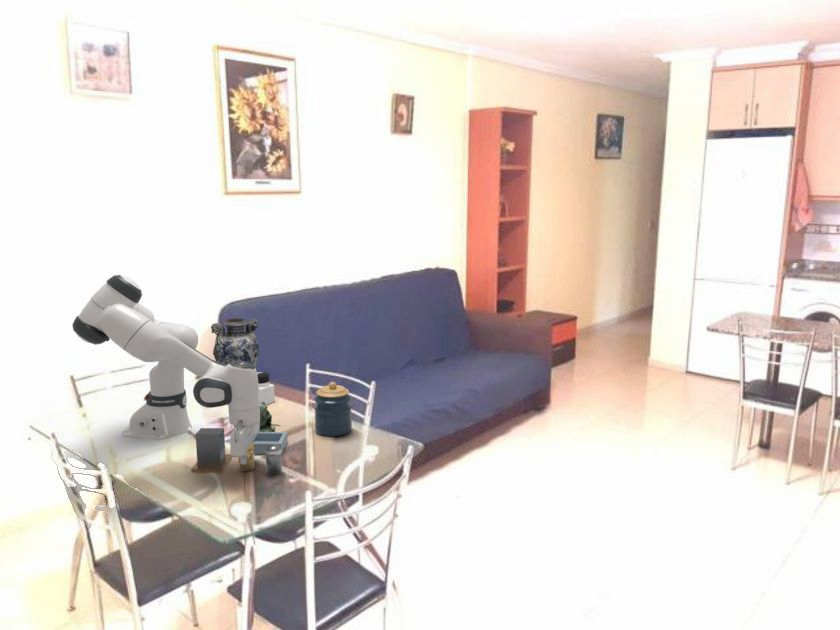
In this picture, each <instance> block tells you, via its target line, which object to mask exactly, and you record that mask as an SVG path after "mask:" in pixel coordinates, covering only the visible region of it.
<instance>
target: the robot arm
mask: <svg viewBox="0 0 840 630" xmlns="http://www.w3.org/2000/svg"><path fill="white" fill-rule="evenodd" d="M142 297H143V293H142V289H141V288H140V287H139V285H138V283H137V282H136V281H134V280H133V279H132V278H130V277H127V276H125V275H120V274H117V275H116V274H115V275H113V276H111V277H110V278H109V279H107V280H106V283H105V284H104V285H102V286H101V287H100V288H99V289H98V290H97V291H96V292H95V293H94V294H93V295H92V296H91V298H90V299H89V300H88V302H87V303H86V304H85V306H84V307H83V308H82V310H81V312H80V313H79V315H76V317H75V318H74V321H73V322H72V325H71V326H72V331H74V333H75V334H76V335H77V337H78V338H79V339H81V340H82V341H83V342H86V343H87V344H88V343H89V344H93V345H102V344H103V343H105V342H109V341H110V340H111V341H112V342H113V343H114V344H115V345H116V346H118V347H119V348H120V349H122V350H123V351H125V352H126V353H127V354H129V355H131V357H134V358H136V359H138V360H140V361H142V362H144V363H155V362H157V365H155V366H153V367H152V368H151V369H150V371H149V375H148V377H149V386H150V387H149V389H150V390H149V391H148V393H147V394H145V396H144V397H143V402H144V401H145V402H146V403H144V404H143V405H142V406H141V407H139V408H138V409H137V410H136V411H135V412H133V414H132V415H131V417H130V419H129V425H128V426H127V427H126V428H125V429H123V432H122V436H123V437H125V438H127V437H128V438H137V439H138V438H139V439H148V440H157V441H158V440H165V439H167V438H170V437H174V436H179V435H183V434H185V433H187V432H189V431H188V428H189V427H190V426H192V425H191V424H192V423H191V421H190V419H189V415H188V410H187V405H188V404H187V403H188V401H187V400H188V398H187V390H186V389H185V374H184V373H185V370H188V371H189V372H191V373H192V374H194V375H195V376H197V377H198V378H199V379H198V380H197V382H195V384H194V386H193V389H192V390H193V391H192V393H193V397H194V400H195V401H196V402H197V404H199V406H201V407H203V408H209V409H211V408H218V407H224V406H228V408H227V409H228V422H229V424H230V425H232V426H233V429H232V431H231V433H230V445H229V446H230V447H229V449H230V454H231V456H232V458H238V459H239V458H240V463H241V464H246V463H247V461H248V460H247V456H246V453H247V450H248V449H249V447H250V445H251V443H252V442H253V441H254V439H255V438H256V436H257V434H258V433H259V429H260V413H261V411H262V406H261V405H259V401H258V392H259V385H258V376H257V373H258V371H257V369H256V366H255V367H254V365H252V364H251V363H249V362H245V361H233V362H230V363H229V364H224V363H220V362H217V361H216V360H213V359H212V358H210V357H208V355H205V354H203V353H202V352H200V351H199V350H197V347H198V344H199V336H198V333H197V331H196V330H195V329H194V328H193V327H190V326H187V325H185V324H183V323H173V322H166V321H162V320H158V319H155V316H154V313H153V312H152V311H151V310H150V309H149V308H148V307H146V306H144V305H142V304H141V303H140V301H141V299H142Z"/></svg>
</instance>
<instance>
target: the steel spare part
mask: <svg viewBox="0 0 840 630" xmlns="http://www.w3.org/2000/svg"><path fill="white" fill-rule="evenodd" d="M265 460H266V464H265V465H266V475H269V476H276V475H279V474H281V473H283V472H282V471H283V470H282V469H283V468H282V467H283V466H282V454H281V445H280V444H269V445H267V446H266V454H265Z"/></svg>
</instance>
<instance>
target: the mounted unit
mask: <svg viewBox="0 0 840 630" xmlns="http://www.w3.org/2000/svg"><path fill="white" fill-rule="evenodd" d="M195 445H196V446H195V447H196V462H195V464H194V465H193V466H192V468H191V469H190V471H191V473H223V471H224V470H225V468H226V467H227V465H228V464H229V463H230V461H231V460H232V458H233V457H232V456H231V453H230V454H229V453H226V442H225V428H224V427H217V428H216V427H200V429H198V431H197V432H196V433H195Z"/></svg>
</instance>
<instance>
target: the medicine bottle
mask: <svg viewBox="0 0 840 630" xmlns="http://www.w3.org/2000/svg"><path fill="white" fill-rule="evenodd" d="M257 376H258V385H259V392H258V401H259V404H261V402H262V401H263V402H264V403H265V405H266V406H267V405H270V404H272V403H274V402H275V401H276V399H275V398H276V397H275V384H272V383H270V374H269V373H267V372H264V371H263V372H261V371H259V372H257Z"/></svg>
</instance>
